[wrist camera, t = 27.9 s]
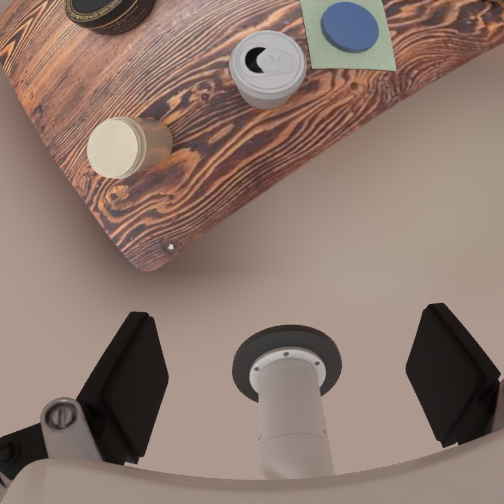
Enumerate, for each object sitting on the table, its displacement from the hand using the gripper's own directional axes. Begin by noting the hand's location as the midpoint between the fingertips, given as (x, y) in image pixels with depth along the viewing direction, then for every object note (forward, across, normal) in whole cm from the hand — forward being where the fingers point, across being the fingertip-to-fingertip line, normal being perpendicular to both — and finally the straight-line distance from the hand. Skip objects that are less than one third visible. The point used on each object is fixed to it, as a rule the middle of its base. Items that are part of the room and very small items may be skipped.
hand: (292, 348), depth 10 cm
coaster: (+28, -10, -21) cm, 37 cm away
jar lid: (+27, -10, -21) cm, 35 cm away
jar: (+28, +18, -27) cm, 43 cm away
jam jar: (+28, +15, -7) cm, 33 cm away
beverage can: (+28, 0, -13) cm, 31 cm away
